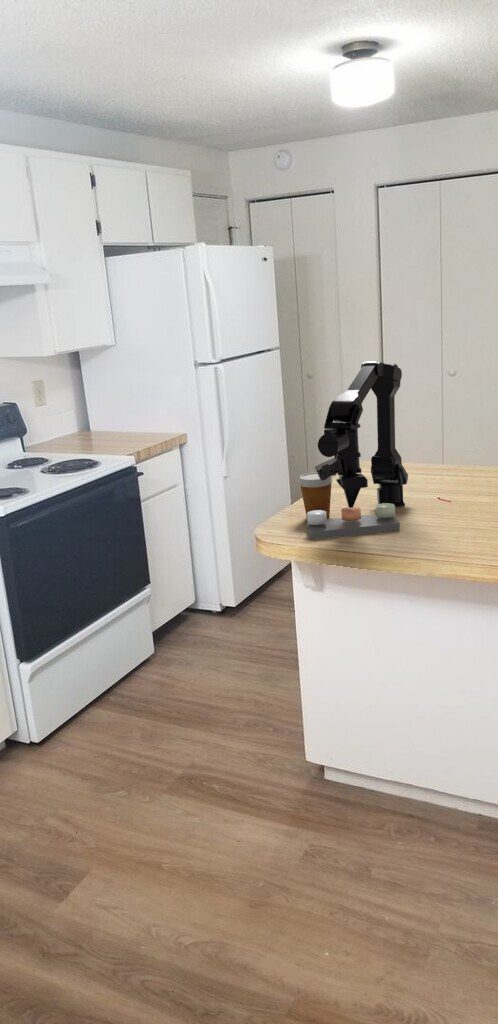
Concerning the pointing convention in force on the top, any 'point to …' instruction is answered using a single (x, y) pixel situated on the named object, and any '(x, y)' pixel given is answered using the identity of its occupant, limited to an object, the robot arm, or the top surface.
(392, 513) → the button sage
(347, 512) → the button terracotta
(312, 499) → the disposable coffee cup
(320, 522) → the button bluegrey
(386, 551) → the top surface
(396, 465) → the robot arm
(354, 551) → the top surface
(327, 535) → the panel
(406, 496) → the top surface
